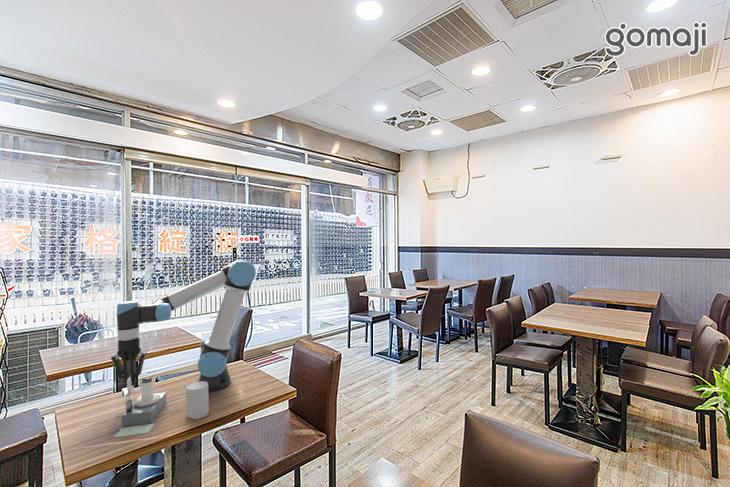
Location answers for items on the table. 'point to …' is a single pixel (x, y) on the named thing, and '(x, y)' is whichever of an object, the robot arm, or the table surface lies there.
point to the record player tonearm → (127, 400)
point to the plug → (147, 394)
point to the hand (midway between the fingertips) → (130, 393)
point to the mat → (134, 430)
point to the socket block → (143, 412)
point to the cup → (197, 399)
